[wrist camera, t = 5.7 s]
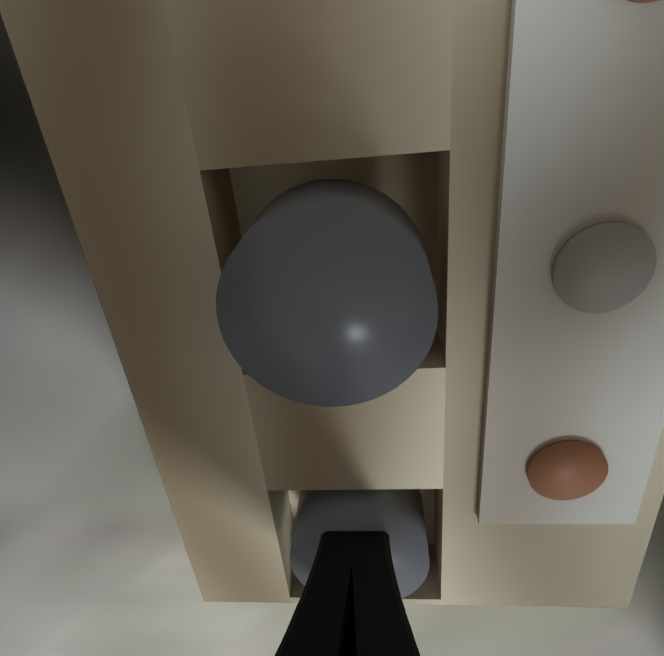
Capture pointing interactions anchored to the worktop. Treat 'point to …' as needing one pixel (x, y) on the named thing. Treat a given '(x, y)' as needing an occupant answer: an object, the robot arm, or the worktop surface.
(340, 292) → the button middle
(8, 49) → the worktop surface
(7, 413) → the worktop surface
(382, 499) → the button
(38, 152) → the worktop surface
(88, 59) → the button board
